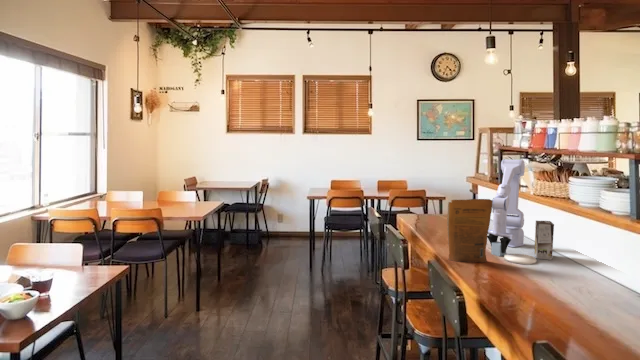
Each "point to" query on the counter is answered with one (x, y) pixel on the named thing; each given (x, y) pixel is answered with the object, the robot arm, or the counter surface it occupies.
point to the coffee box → (544, 239)
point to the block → (497, 249)
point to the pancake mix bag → (468, 229)
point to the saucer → (520, 259)
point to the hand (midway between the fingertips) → (498, 251)
